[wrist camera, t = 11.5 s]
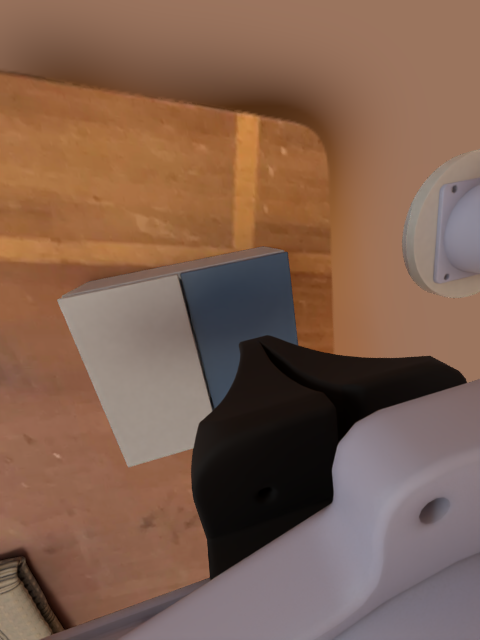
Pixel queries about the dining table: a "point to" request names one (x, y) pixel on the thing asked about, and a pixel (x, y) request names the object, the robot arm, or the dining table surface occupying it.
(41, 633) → the dish towel
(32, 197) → the dining table surface
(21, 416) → the dining table surface
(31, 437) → the dining table surface
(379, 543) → the robot arm
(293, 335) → the flap
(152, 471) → the dining table surface
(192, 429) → the carton
